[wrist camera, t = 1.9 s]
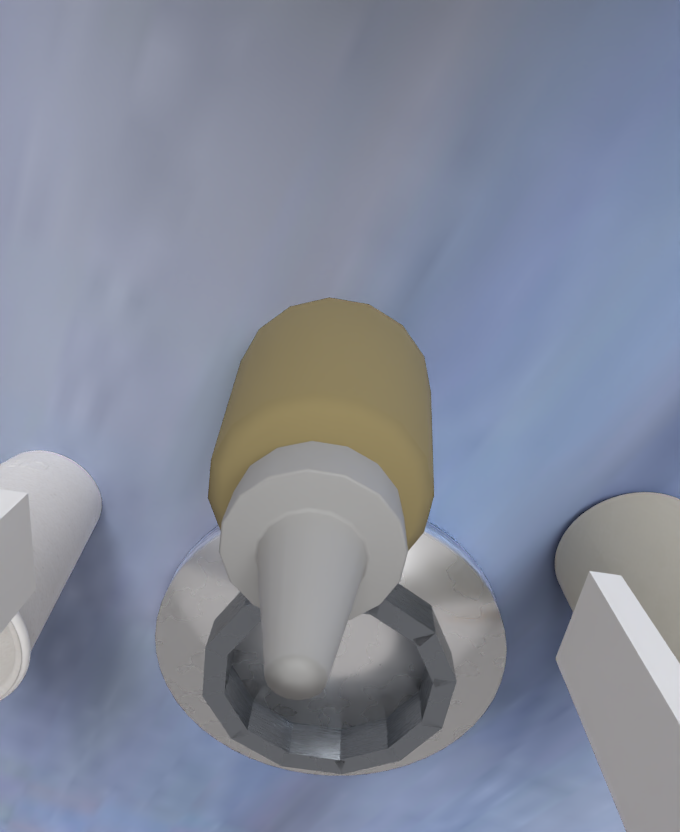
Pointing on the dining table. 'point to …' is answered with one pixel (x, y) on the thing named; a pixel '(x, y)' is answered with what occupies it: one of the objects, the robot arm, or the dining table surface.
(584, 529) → the travel mug
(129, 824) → the dining table surface
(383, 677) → the rosette plate
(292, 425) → the squeeze bottle
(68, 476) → the dixie cup
